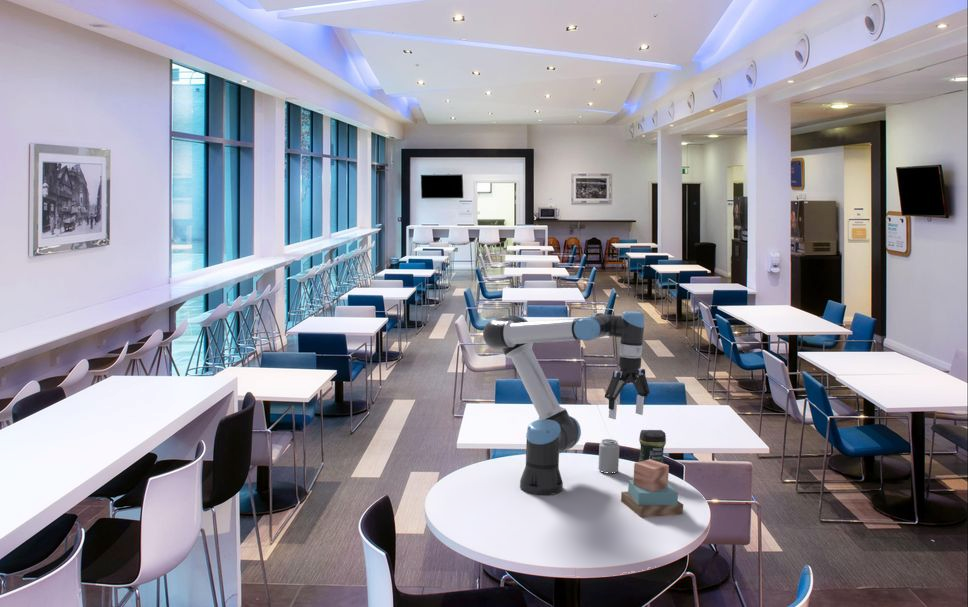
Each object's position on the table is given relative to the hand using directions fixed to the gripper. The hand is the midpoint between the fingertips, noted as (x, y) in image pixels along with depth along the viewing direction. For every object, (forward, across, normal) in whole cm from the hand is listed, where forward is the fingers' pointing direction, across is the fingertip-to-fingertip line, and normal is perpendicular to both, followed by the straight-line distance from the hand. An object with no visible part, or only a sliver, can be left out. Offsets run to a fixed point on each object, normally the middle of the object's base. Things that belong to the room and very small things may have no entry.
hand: (625, 416), depth 273 cm
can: (+28, +14, +19) cm, 36 cm away
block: (+20, -3, -16) cm, 25 cm away
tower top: (+24, -2, -16) cm, 29 cm away
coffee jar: (+28, +21, +4) cm, 35 cm away
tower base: (+28, -2, -16) cm, 32 cm away
